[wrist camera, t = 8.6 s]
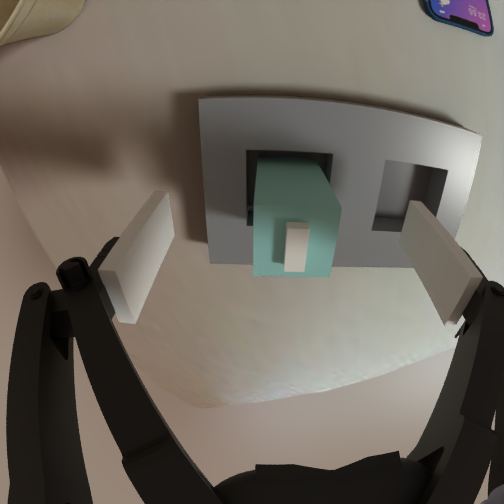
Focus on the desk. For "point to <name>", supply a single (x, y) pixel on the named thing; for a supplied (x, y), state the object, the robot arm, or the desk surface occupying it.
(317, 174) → the charger
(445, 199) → the outlet plate
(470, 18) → the smartphone
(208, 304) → the desk surface
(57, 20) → the flower pot
